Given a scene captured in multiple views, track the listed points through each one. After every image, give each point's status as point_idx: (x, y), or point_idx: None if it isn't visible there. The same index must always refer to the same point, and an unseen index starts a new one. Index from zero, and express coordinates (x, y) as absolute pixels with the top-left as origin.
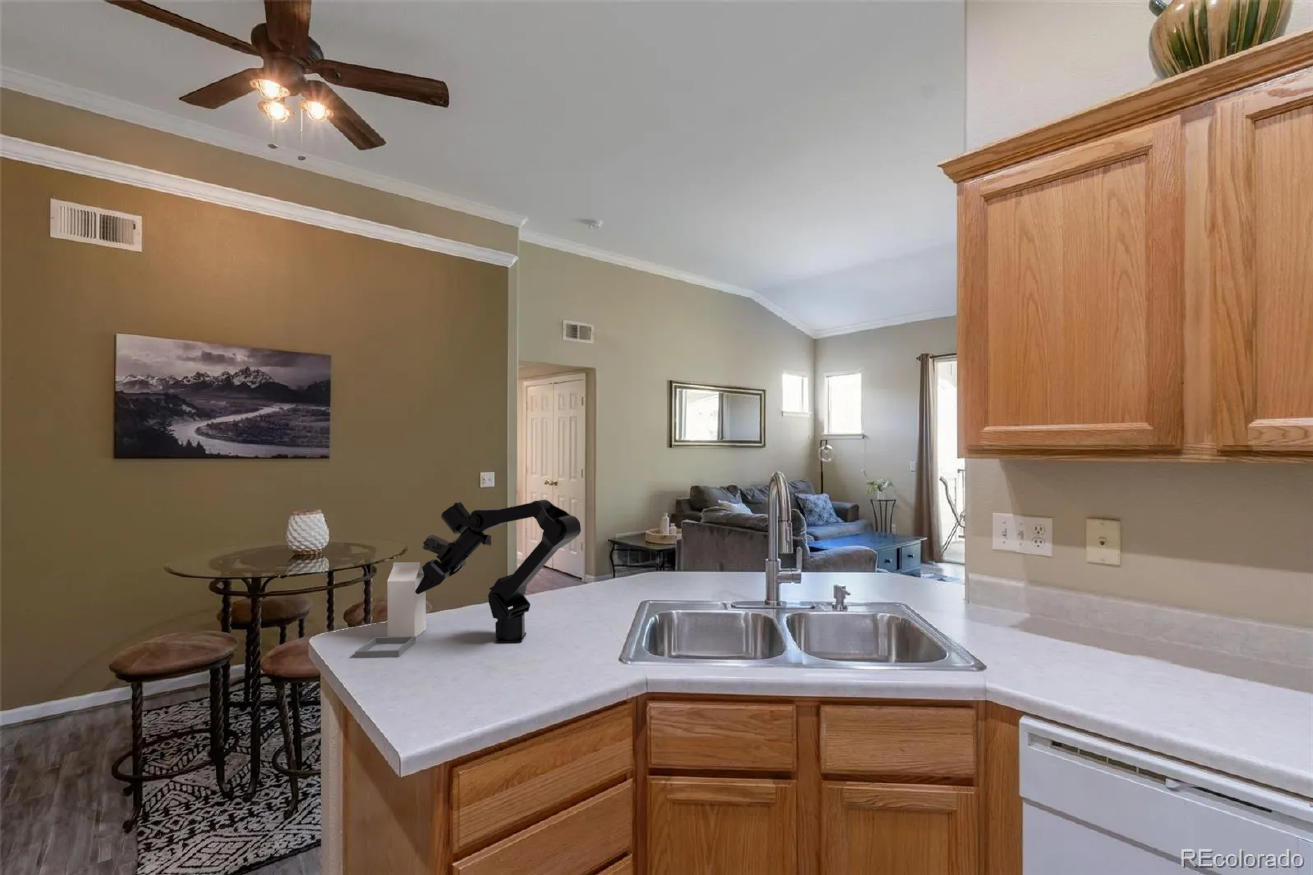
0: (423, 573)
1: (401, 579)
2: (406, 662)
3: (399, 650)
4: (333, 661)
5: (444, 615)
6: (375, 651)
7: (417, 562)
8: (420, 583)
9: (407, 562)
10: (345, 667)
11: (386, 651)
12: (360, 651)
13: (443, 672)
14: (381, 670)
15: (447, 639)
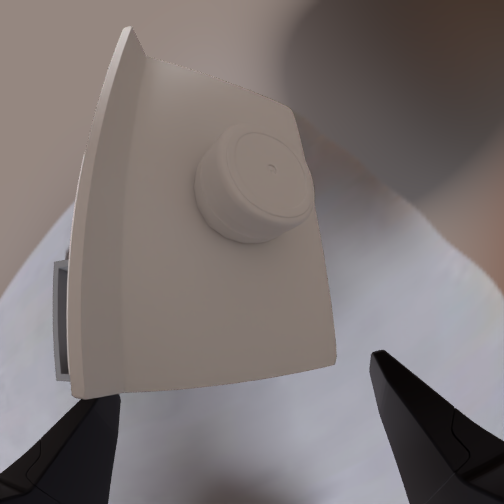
0: (306, 356)
1: (70, 247)
2: (45, 410)
3: (59, 380)
4: (54, 229)
5: (471, 318)
6: (53, 315)
7: (71, 343)
8: (50, 435)
9: (92, 151)
10: (25, 280)
11: (54, 346)
12: (53, 275)
13: None
14: (13, 369)
15: (210, 471)
